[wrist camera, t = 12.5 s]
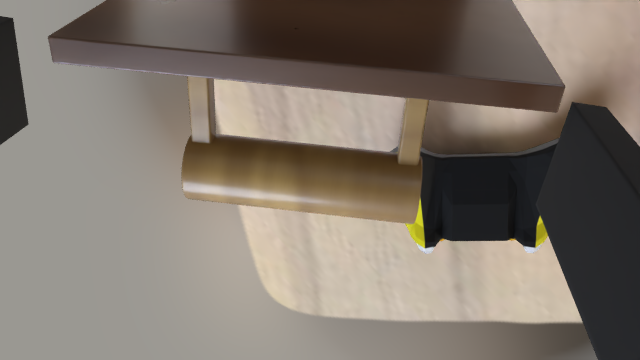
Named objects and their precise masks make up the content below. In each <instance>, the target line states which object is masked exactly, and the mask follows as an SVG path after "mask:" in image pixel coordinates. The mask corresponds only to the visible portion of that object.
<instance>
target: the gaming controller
mask: <svg viewBox="0 0 640 360" xmlns="http://www.w3.org/2000/svg"><path fill="white" fill-rule="evenodd" d="M558 140H559V138H558V139H555V140H552V141H550V142H547V143H545V144H542V145H539V146H536V147H534V148H531V149H528V150H525V151H521V152H515V153H493V154H455V155H443V154H436V153H433V152H431V151H428V150H426V149H424V148H421V151H420V156H421V157H422V184H421V194H420V201H419V208H418V213H417V217H416V220H415V223H414V224H405V225H406V226H407V228H408V230H409V232H410V235H411V237H412V238H413V239H414V241H415V242H416V243H417V244H418V247H419V249H420V250H421V251H422V252H424V253H425V254H426V253H432V251H433V249H434V247H435V246H436V244H437V243H438V242H439V241H443V240H445V239H446V240H450V241H507V240H511V241H512V240H517V241H518V242H519V243H521V244H522V245H523V247H524V249H525V251H526V252H528V253H534V252H536V251H537V250H538V249H539V248H540V246H541V244H542V243H543V242H544V241H545V240H546V238H547V236H548V234H547V231H546V229H545V226H544V224H543V221H542V219H541V216H540V214H539V211H538V209H537V206H536V202H537V200H538V197H539V194H540V191H541V188H542V185H543V183H544V180H545V177H546V174H547V171H548V169H549V166H550V163H551V160H552V157H553V155H554V152H555V149H556V146H557V143H558ZM391 152H392V153H397V152H398V147H396V148H395V149H393V150H392V151H391Z"/></svg>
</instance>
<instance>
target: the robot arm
mask: <svg viewBox="0 0 640 360" xmlns="http://www.w3.org/2000/svg"><path fill="white" fill-rule="evenodd" d="M27 125H28V118H27V111H26V104H25V98H24V90H23V84H22V77H21V71H20V63H19V57H18V49H17V43H16V36H15V29H14V22H13V18H8V17H2V16H0V144H2V143H3V142H5V141H6V140H7V139H9V138H10V137H12V136H13V135H14V134H16V133H17V132H19V131H20V130H21V129H23V128H24V127H25V126H27ZM536 206H537V209H538V211H539V214H540V216H541V219H542V221H543V224H544V226H545V229H546V231H547V234H548V236H549V239H550V241H551V244H552V246H553V249H554V251H555V254H556V256H557V259H558V261H559V264H560V266H561V269H562V271H563V274H564V276H565V279H566V281H567V284H568V286H569V289H570V291H571V294H572V296H573V299H574V301H575V304H576V306H577V309H578V311H579V314H580V316H581V319H582V321H583V324H584V326H585V329H586V331H587V334H588V336H589V339H590V341H591V344H592V346H593V348H594V351H595V353H596V356H597V358H598V360H640V147H639V146H638V144H637V143H636V142H635V141H634V140H633V138H632V137H631V136H630V135H629V134H628V133H627V131H626V130H625V129H624V128H623V127H622V125H621V124H620V123H619V122H618V121H617V119H616V118H615V117H614V116H613V115H612V113H611V112H610V111H609V110H608V109H607V107H602V106H595V105H588V104H582V103H575V102H572V104H571V107H570V110H569V112H568V115H567V118H566V121H565V124H564V126H563V129H562V132H561V135H560V138H559V140H558V143H557V146H556V149H555V152H554V155H553V157H552V160H551V163H550V166H549V169H548V171H547V174H546V177H545V180H544V183H543V185H542V188H541V191H540V194H539V197H538V200H537V202H536Z"/></svg>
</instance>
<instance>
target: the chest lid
mask: <svg viewBox="0 0 640 360" xmlns="http://www.w3.org/2000/svg"><path fill="white" fill-rule="evenodd" d="M48 40H49V44H50V50H51V55H52V60H53V62H54V63H61V64H70V65H80V66H90V67H100V68H111V69H121V70H131V71H142V72H152V73H161V74H171V75H181V76H187V79H188V80H187V81H188V94H189V109H190V123H191V136H190V137H189V139H188V142H187V144H186V147H185V151H184V156H183V162H182V188H183V192H184V195H185V197H186V198H188V199H194V200H202V201H212V202H221V203H229V204H238V205H246V206H255V207H264V208H273V209H282V210H291V211H299V212H308V213H317V214H326V215H335V216H344V217H352V218H361V219H370V220H379V221H388V222H397V223H405V224H414V223H415V220H416V217H417V213H418V208H419V201H420V194H421V184H422V157H421V156H420V151H421V145H422V139H423V133H424V127H425V121H426V116H427V110H428V104H429V100H434V101H444V102H454V103H464V104H475V105H485V106H495V107H505V108H515V109H525V110H535V111H545V112H558V109H559V106H560V102H561V99H562V96H563V93H564V89H565V85H564V83H563V82H562V80H561V78H560V77H559V75H558V74H557V72H556V70H555V69H554V67H553V66H552V64H551V62H550V61H549V59H548V58H547V56H546V54H545V53H544V51H543V50H542V48H541V46H540V45H539V43H538V42H537V40H536V38H535V37H534V35H533V33H532V32H531V30H530V29H529V27H528V25H527V24H526V22H525V21H524V19H523V17H522V16H521V14H520V13H519V11H518V9H517V8H516V6H515V5H514V3H513V1H512V0H106V1H104V2H103V3H101V4H100V5H98V6H96V7H95V8H93V9H92V10H90V11H88V12H87V13H85V14H83V15H82V16H80V17H79V18H77V19H75V20H74V21H72V22H71V23H69V24H67V25H66V26H64V27H63V28H61V29H59V30H58V31H56V32H54V33H53V34H51V35H49V36H48ZM214 79H222V80H232V81H242V82H252V83H262V84H272V85H282V86H292V87H303V88H313V89H323V90H333V91H343V92H353V93H363V94H373V95H383V96H394V97H404V98H405V104H404V111H403V118H402V125H401V132H400V138H399V145H398V152H397V153H392V152H383V151H373V150H364V149H354V148H345V147H335V146H326V145H316V144H307V143H297V142H288V141H278V140H269V139H259V138H250V137H240V136H231V135H221V134H216V122H215V99H214Z"/></svg>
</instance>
